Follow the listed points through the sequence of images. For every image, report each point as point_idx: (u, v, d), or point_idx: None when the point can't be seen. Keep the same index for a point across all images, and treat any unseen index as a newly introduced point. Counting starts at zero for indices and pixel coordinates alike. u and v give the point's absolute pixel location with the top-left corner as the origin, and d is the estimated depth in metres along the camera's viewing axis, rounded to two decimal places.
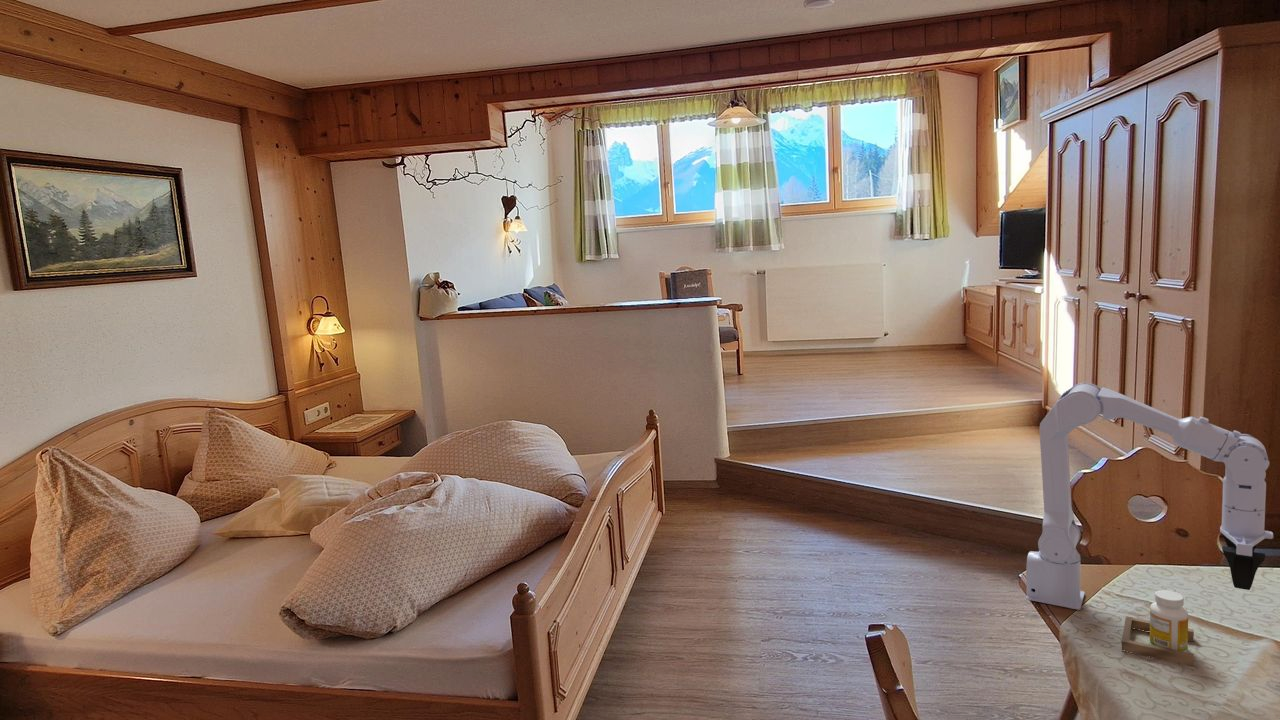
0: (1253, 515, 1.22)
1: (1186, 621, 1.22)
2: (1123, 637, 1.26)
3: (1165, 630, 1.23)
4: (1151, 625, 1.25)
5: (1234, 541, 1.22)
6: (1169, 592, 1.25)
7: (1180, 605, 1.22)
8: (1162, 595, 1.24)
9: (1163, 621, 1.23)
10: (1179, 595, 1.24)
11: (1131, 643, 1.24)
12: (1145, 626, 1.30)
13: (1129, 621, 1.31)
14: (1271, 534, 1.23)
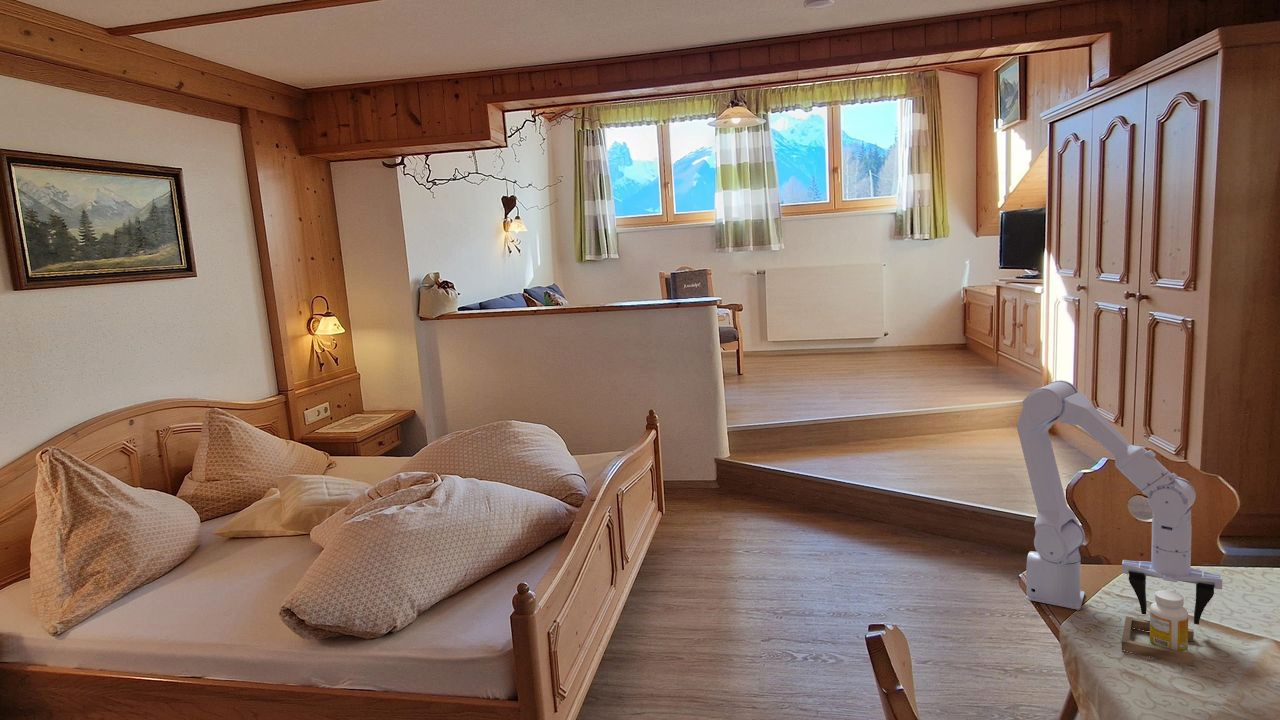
0: (1153, 549, 1.29)
1: (1186, 621, 1.22)
2: (1123, 637, 1.26)
3: (1165, 630, 1.23)
4: (1151, 625, 1.25)
5: (1134, 562, 1.34)
6: (1169, 592, 1.25)
7: (1180, 605, 1.22)
8: (1162, 595, 1.24)
9: (1163, 621, 1.23)
10: (1179, 595, 1.24)
11: (1131, 643, 1.24)
12: (1145, 626, 1.30)
13: (1129, 621, 1.31)
14: (1166, 576, 1.27)
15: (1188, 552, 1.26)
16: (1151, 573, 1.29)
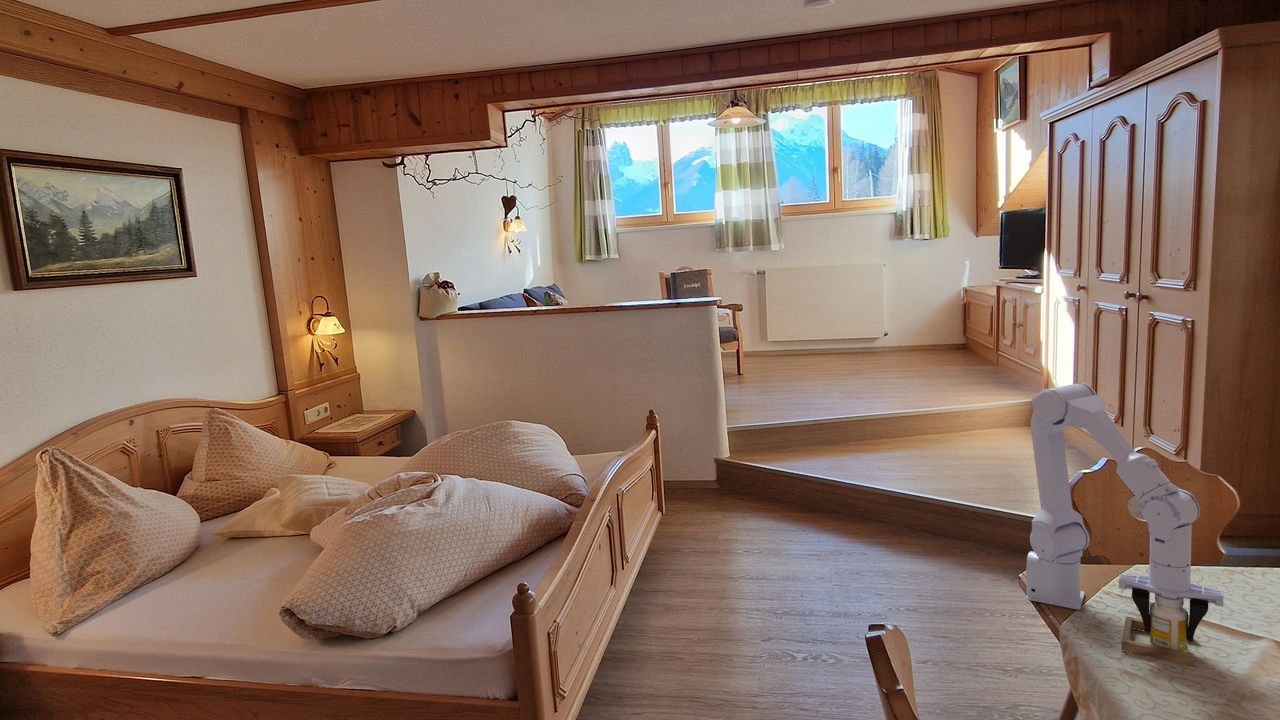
0: (1151, 564, 1.24)
1: (1186, 621, 1.22)
2: (1123, 637, 1.26)
3: (1165, 630, 1.23)
4: (1151, 625, 1.25)
5: None
6: None
7: (1180, 605, 1.22)
8: None
9: (1163, 621, 1.23)
10: None
11: (1131, 643, 1.24)
12: None
13: (1129, 621, 1.31)
14: (1165, 593, 1.21)
15: (1188, 567, 1.21)
16: (1149, 589, 1.24)
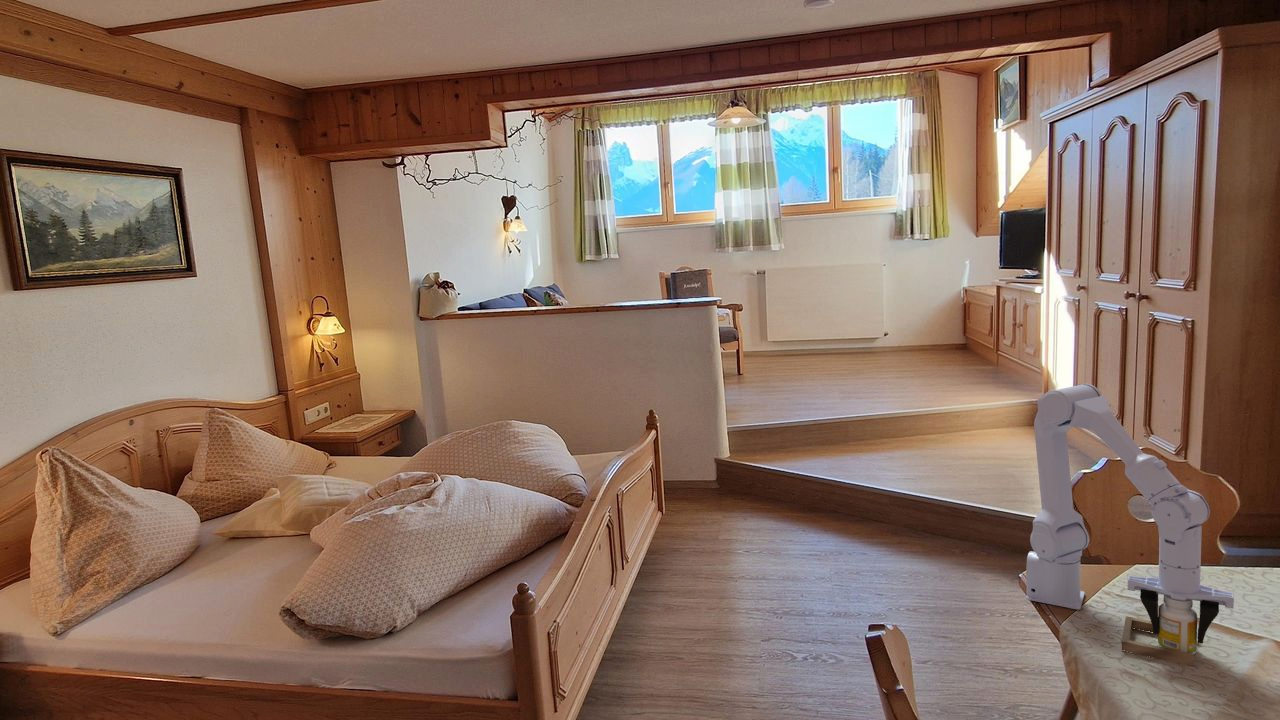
0: (1160, 565, 1.23)
1: (1195, 622, 1.22)
2: (1123, 637, 1.26)
3: (1175, 632, 1.22)
4: (1160, 627, 1.25)
5: (1140, 578, 1.27)
6: None
7: (1189, 606, 1.22)
8: None
9: (1172, 622, 1.22)
10: None
11: (1131, 643, 1.24)
12: (1145, 626, 1.30)
13: (1129, 621, 1.31)
14: (1174, 594, 1.20)
15: (1197, 569, 1.20)
16: (1158, 590, 1.23)
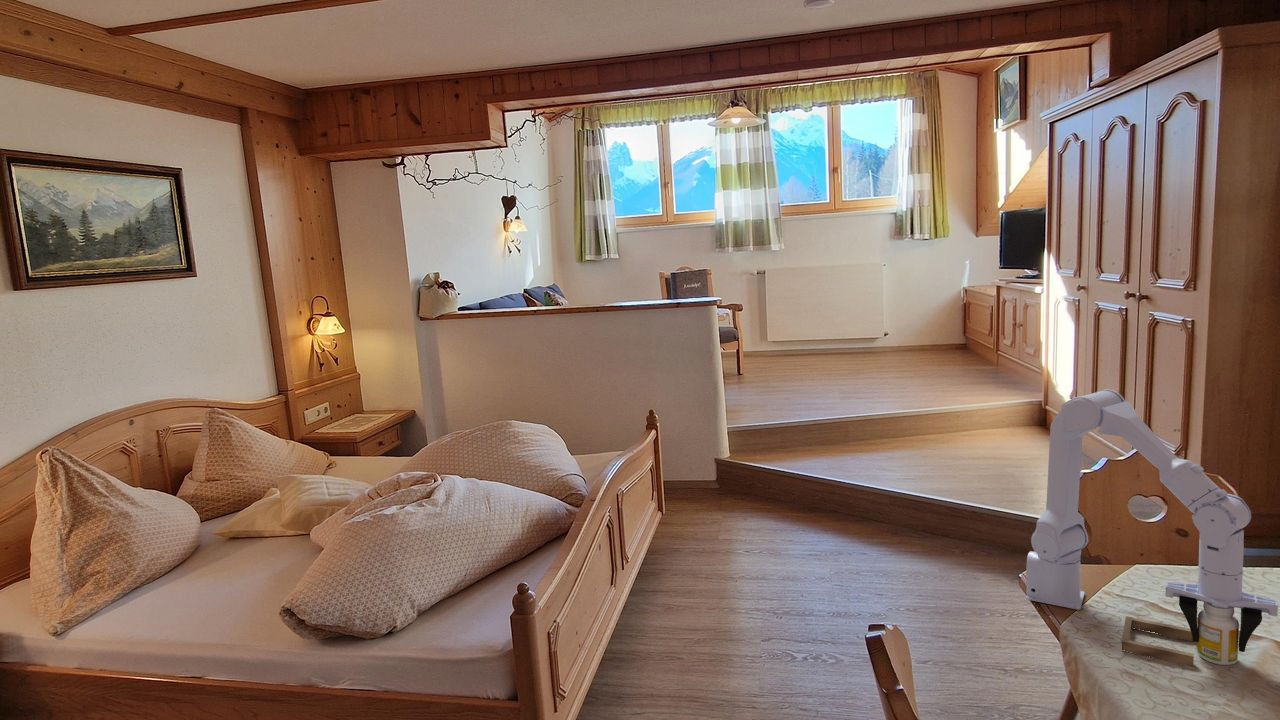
0: (1200, 572, 1.20)
1: (1237, 630, 1.18)
2: (1123, 637, 1.26)
3: (1216, 640, 1.19)
4: (1199, 634, 1.21)
5: None
6: None
7: (1231, 614, 1.18)
8: (1211, 603, 1.20)
9: (1213, 630, 1.19)
10: None
11: (1131, 643, 1.24)
12: (1145, 626, 1.30)
13: (1129, 621, 1.31)
14: (1216, 602, 1.17)
15: (1240, 575, 1.17)
16: (1198, 597, 1.20)
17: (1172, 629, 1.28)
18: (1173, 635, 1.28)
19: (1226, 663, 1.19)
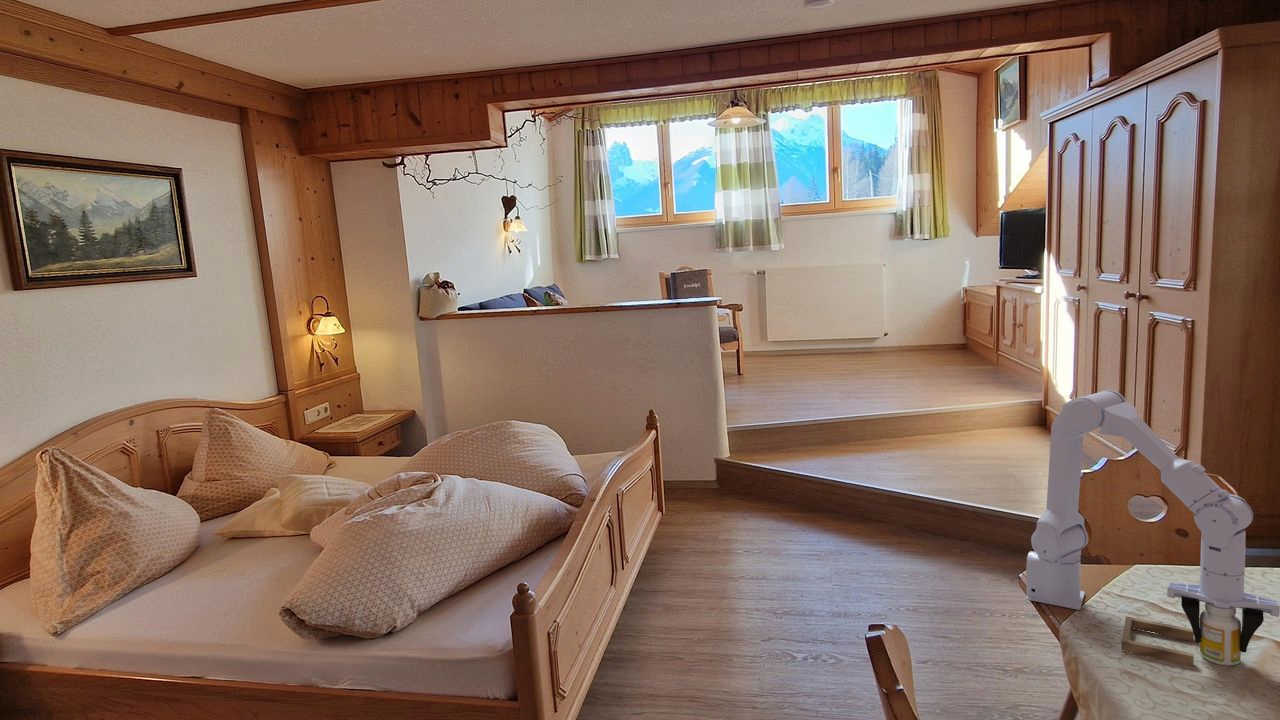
0: (1202, 572, 1.20)
1: (1239, 630, 1.18)
2: (1123, 637, 1.26)
3: (1218, 640, 1.19)
4: (1202, 635, 1.21)
5: None
6: None
7: (1233, 614, 1.18)
8: None
9: (1215, 630, 1.19)
10: None
11: (1131, 643, 1.24)
12: (1145, 626, 1.30)
13: (1129, 621, 1.31)
14: (1218, 602, 1.17)
15: (1242, 576, 1.16)
16: (1200, 598, 1.20)
17: (1172, 629, 1.28)
18: (1173, 635, 1.28)
19: (1229, 663, 1.18)
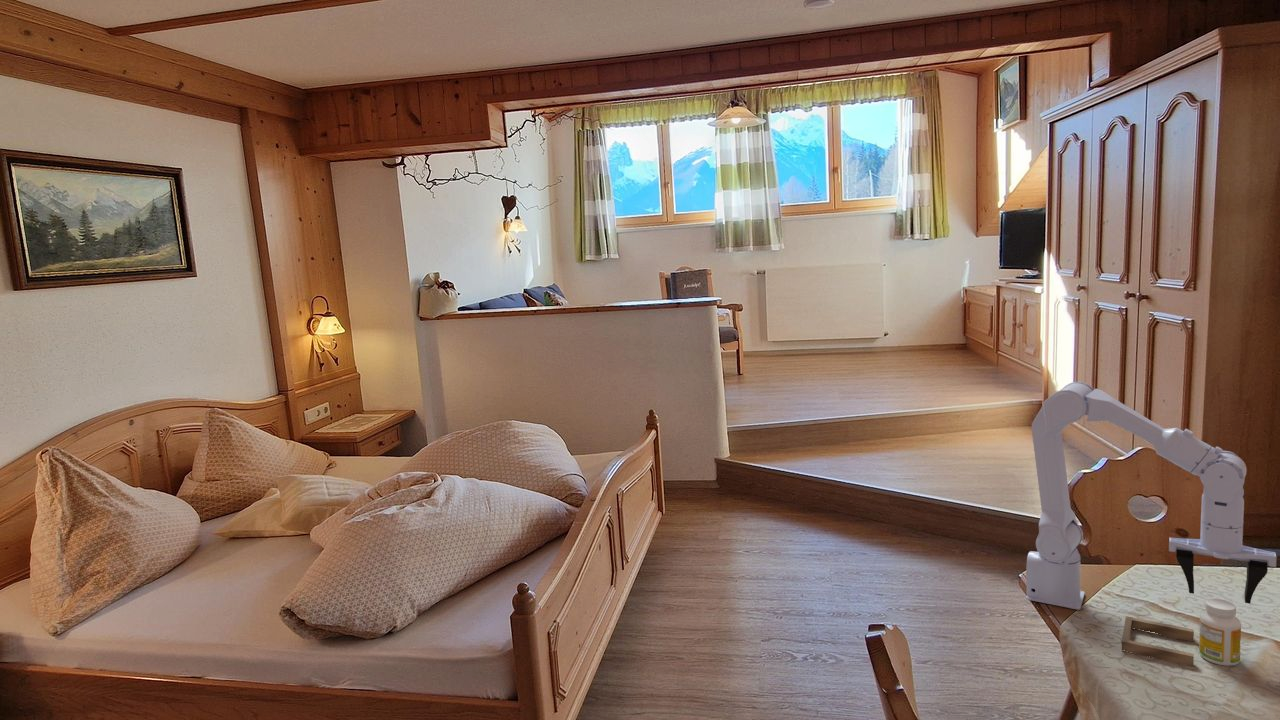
0: (1202, 526, 1.25)
1: (1239, 631, 1.18)
2: (1123, 637, 1.26)
3: (1218, 641, 1.19)
4: (1202, 635, 1.21)
5: None
6: (1220, 601, 1.21)
7: (1233, 614, 1.18)
8: (1213, 604, 1.20)
9: (1215, 631, 1.19)
10: (1231, 604, 1.20)
11: (1131, 643, 1.24)
12: (1145, 626, 1.30)
13: (1129, 621, 1.31)
14: (1217, 554, 1.22)
15: (1240, 528, 1.22)
16: (1200, 550, 1.25)
17: (1172, 629, 1.28)
18: (1173, 635, 1.28)
19: (1228, 663, 1.19)
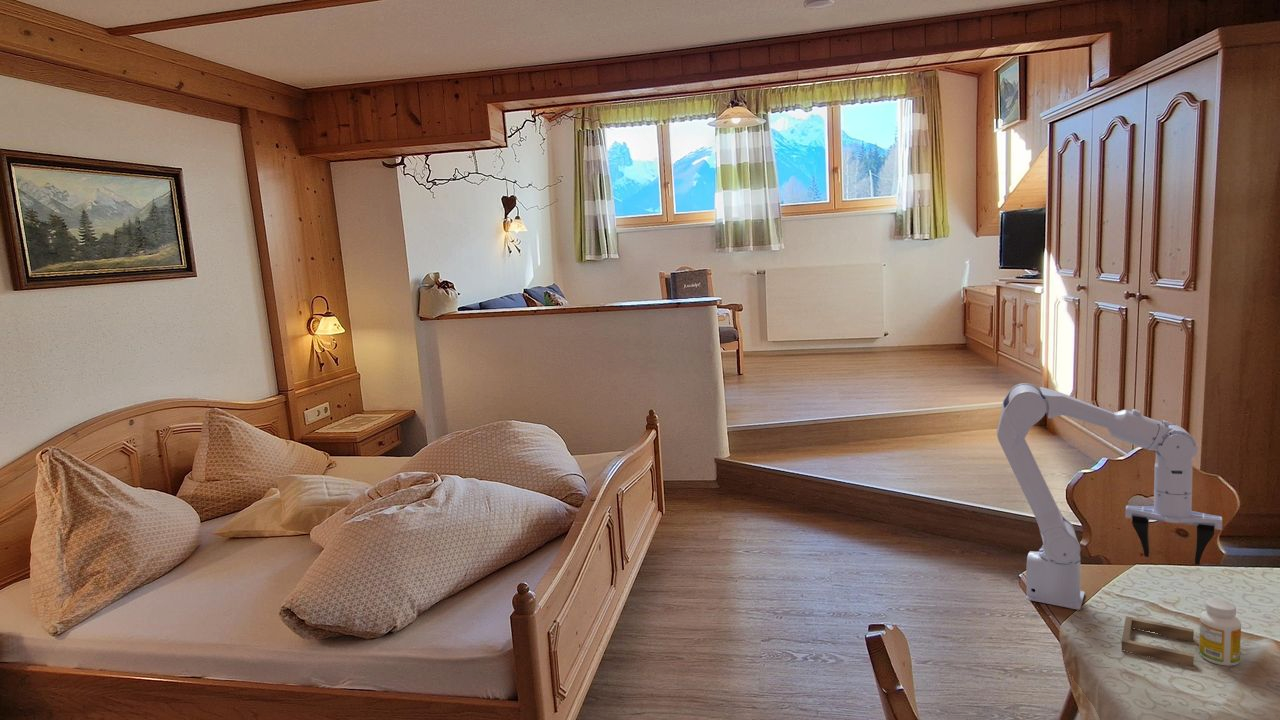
0: (1155, 493, 1.34)
1: (1239, 631, 1.18)
2: (1123, 637, 1.26)
3: (1218, 641, 1.19)
4: (1202, 635, 1.21)
5: (1137, 507, 1.39)
6: (1220, 601, 1.21)
7: (1233, 614, 1.18)
8: (1213, 604, 1.20)
9: (1215, 631, 1.19)
10: (1231, 604, 1.20)
11: (1131, 643, 1.24)
12: (1145, 626, 1.30)
13: (1129, 621, 1.31)
14: (1168, 518, 1.32)
15: (1189, 495, 1.31)
16: (1153, 516, 1.34)
17: (1172, 629, 1.28)
18: (1173, 635, 1.28)
19: (1228, 663, 1.19)
